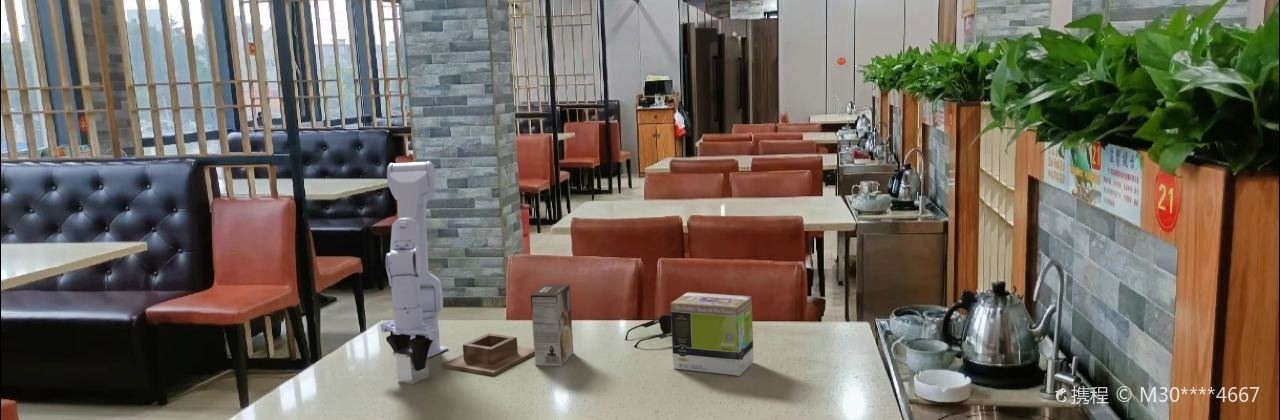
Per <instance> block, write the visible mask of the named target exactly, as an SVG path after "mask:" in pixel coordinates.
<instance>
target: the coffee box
mask: <svg viewBox="0 0 1280 420" xmlns="http://www.w3.org/2000/svg"><path fill="white" fill-rule="evenodd" d="M530 304H531V305H530V306H531V308H530V309H531V320H532V333H533V335H532V336H533V349H534V353H535V355H534V365H535V366H540V367H541V366H542V367H543V366H545V367H549V366H550V367H562V366H564V364H565V363H566V362H567V361H568V360H569V358H570V357H571V356H572V355H573V354H574V340H573V339H574V336H573V322H572V321H573V320H572V306H571V305H572V303H571V290H570V284H542V285H541V286H540V287H539V288H537V290H535V291H534V292H533V293H531V294H530Z"/></svg>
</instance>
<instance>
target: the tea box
mask: <svg viewBox="0 0 1280 420" xmlns="http://www.w3.org/2000/svg"><path fill="white" fill-rule="evenodd" d="M670 315H671V326H672V336H671V348H672V349H671V350H672V351H671V352H672V364H673V369H676V370H685V371H695V372H702V373H710V374H720V375H728V376H729V375H730V376H738V377H739V376H741V375H742V374H743V373H744V372H745V371H747V369H748V368H749V367H750V366H751V365H752V364H753V363H754V330H753V300H752V296H751V295H736V294H721V293H705V292H704V293H703V292H691V291H688V292H686V293H684V294H683V295H681V296H680V297H678V298H677V299H675V300H673V301H671V302H670Z"/></svg>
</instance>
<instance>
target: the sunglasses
mask: <svg viewBox="0 0 1280 420" xmlns="http://www.w3.org/2000/svg"><path fill="white" fill-rule="evenodd" d="M656 324H659V326H660V330H661V332H662V333H660V334H657V335H654V336H651V337H647V338H642V339H639V340H638V341H637V342H636V343H635V344H634V346H633V347H634V348H638V345H639V344H640V343H641V342H643V341H648V340H653V339H655V338H658V339H665V338H669V337H672V326H671V314H663V315H661V316H660V317H658V318H656V319H653V320H650V321H647V322H645V323H642V324H638V325H636V326H634V327H632V328H630V329H628V331H626V334H625V338H624V339H625V341H627V340H628V335H629V333H630V332H631V331H633V330H635V329H637V328H641V327H644V328H646V329H647V328H649V327H651V326H654V325H656Z"/></svg>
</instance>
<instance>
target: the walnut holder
mask: <svg viewBox="0 0 1280 420" xmlns="http://www.w3.org/2000/svg"><path fill="white" fill-rule="evenodd" d="M533 356H535V353H534V348H529V347H523V346H518V338H517V337H516V336H510V335H502V334H497V333H491V332H489V333H486V334H484V335H482V336H481V335H480V336H479V337H477V338H475V339H472V340H470V341H468V342H466V343H464V344H462V354H461V355H459V356H457V357H454V358H452V359H450V360H448V361H445V362H444V363H442V367H443V368H444V369H452V370H456V371H457V370H458V371H461V372H468V373H474V374H479V375H485V376H490V377H494V376H497V375H498V374H500V373H502V372H504V371H506V370H508V369H510V368H512V367H514V366H515V365H518V364H520V363H522V362H523V361H526V360H528V358H531V357H533Z"/></svg>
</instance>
